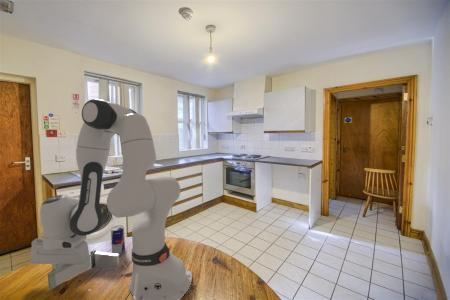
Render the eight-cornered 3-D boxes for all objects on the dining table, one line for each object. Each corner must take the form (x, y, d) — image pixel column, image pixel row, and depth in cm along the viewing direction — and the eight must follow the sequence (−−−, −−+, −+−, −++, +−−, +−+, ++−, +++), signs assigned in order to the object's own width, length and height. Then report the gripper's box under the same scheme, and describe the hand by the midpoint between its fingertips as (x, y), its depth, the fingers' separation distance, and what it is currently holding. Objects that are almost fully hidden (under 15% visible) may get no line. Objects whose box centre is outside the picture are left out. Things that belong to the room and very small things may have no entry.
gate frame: (120, 267, 84) (119, 252, 84) (116, 270, 83) (116, 255, 82) (59, 260, 89) (58, 246, 88) (55, 263, 87) (54, 249, 86)
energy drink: (119, 256, 91) (118, 231, 90) (109, 255, 92) (107, 230, 91) (127, 249, 96) (126, 225, 95) (117, 248, 98) (116, 224, 96)
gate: (88, 265, 84) (88, 253, 84) (91, 267, 83) (90, 254, 83) (48, 287, 72) (47, 273, 72) (51, 289, 72) (49, 275, 71)
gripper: (23, 242, 74) (27, 278, 75) (78, 243, 73) (81, 279, 75) (39, 233, 80) (42, 266, 81) (90, 234, 79) (92, 267, 81)
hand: (61, 272), depth 78 cm, fingers closed
